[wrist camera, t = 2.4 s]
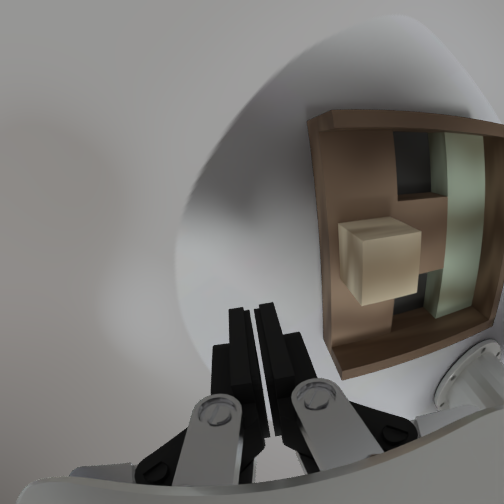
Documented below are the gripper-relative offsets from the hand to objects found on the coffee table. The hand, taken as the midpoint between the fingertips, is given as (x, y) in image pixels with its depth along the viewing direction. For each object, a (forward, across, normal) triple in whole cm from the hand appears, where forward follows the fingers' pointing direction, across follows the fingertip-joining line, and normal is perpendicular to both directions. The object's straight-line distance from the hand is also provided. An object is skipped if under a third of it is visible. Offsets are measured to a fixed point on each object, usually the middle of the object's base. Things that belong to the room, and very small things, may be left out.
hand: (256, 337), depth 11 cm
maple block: (+8, -8, +1) cm, 12 cm away
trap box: (+11, -14, +1) cm, 18 cm away
